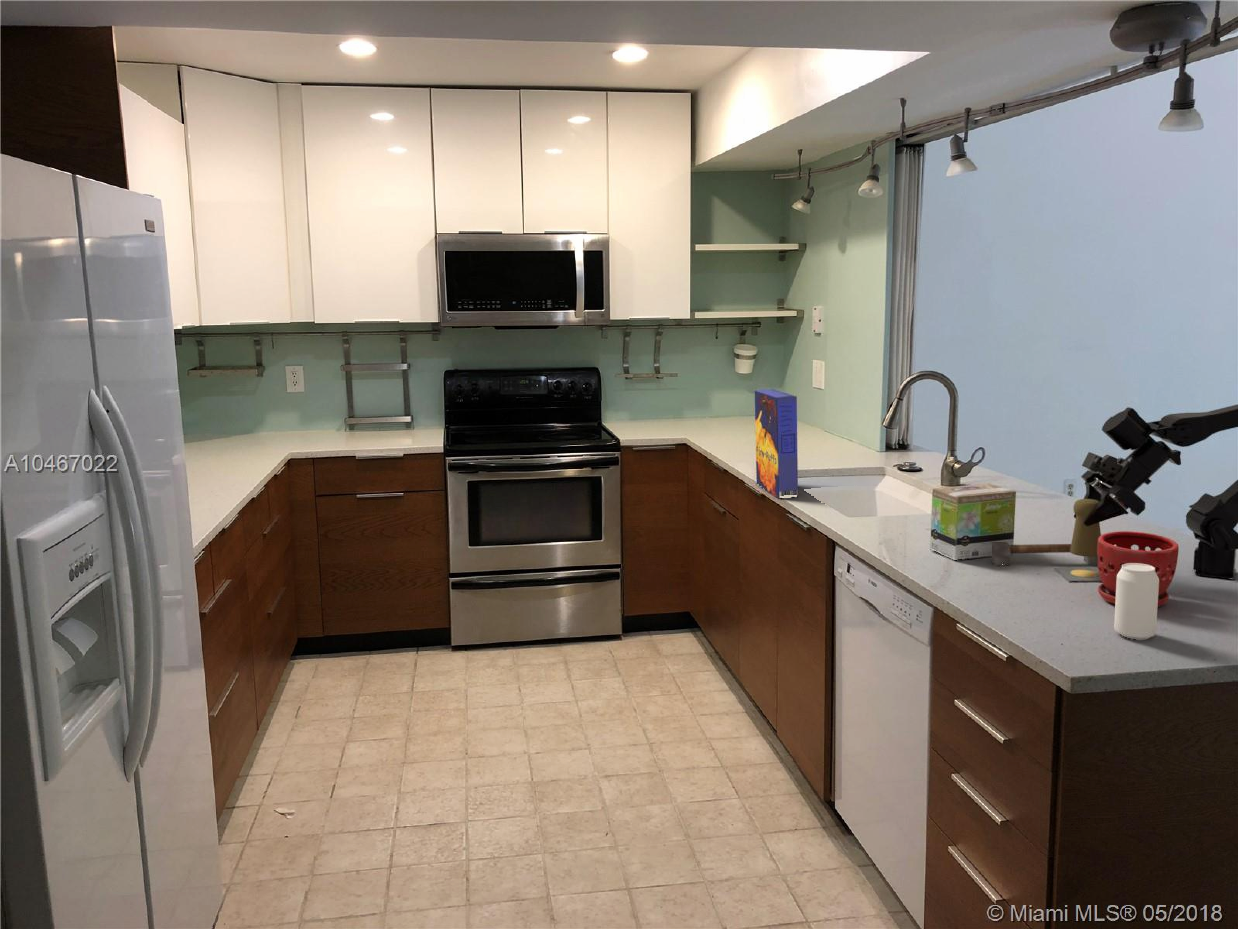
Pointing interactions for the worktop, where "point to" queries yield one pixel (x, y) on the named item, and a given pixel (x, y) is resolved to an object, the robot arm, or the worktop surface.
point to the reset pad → (1080, 574)
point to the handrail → (1030, 551)
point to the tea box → (971, 519)
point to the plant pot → (1135, 559)
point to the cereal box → (776, 442)
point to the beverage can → (1136, 601)
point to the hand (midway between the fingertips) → (1080, 521)
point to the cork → (1085, 530)
